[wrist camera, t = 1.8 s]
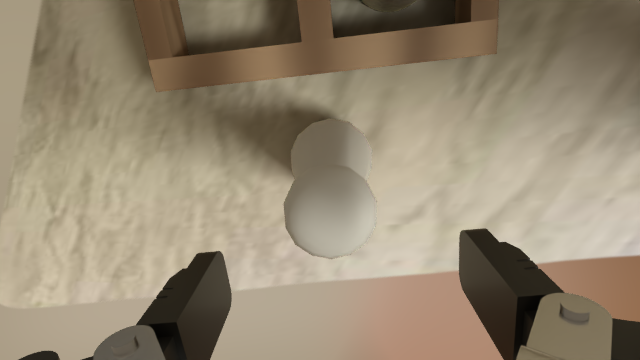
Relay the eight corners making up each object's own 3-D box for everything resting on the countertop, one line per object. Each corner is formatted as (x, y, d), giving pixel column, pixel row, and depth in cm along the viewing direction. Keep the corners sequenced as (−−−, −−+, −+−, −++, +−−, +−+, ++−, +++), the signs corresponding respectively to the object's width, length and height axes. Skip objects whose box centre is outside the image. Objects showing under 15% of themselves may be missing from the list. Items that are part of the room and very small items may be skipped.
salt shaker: (381, 167, 28) (419, 251, 16) (316, 198, 29) (304, 300, 17) (347, 99, 26) (361, 133, 14) (280, 134, 27) (238, 195, 15)
